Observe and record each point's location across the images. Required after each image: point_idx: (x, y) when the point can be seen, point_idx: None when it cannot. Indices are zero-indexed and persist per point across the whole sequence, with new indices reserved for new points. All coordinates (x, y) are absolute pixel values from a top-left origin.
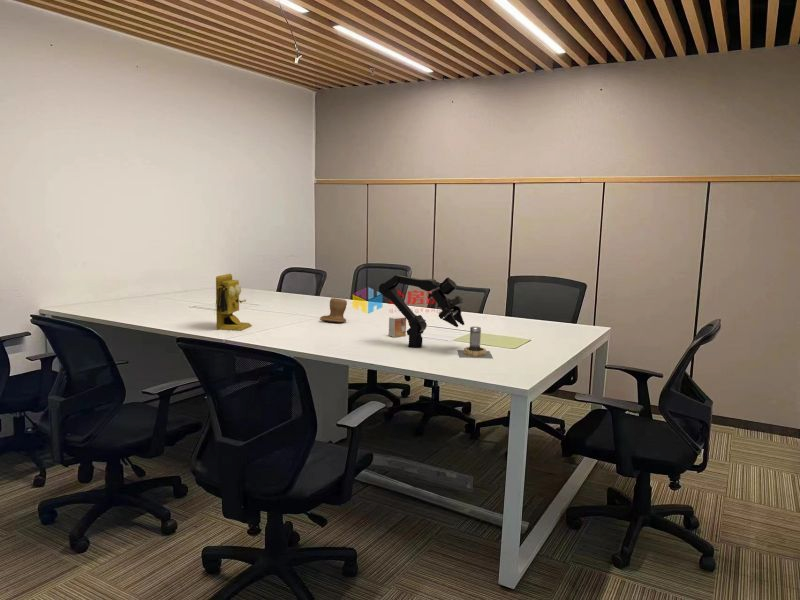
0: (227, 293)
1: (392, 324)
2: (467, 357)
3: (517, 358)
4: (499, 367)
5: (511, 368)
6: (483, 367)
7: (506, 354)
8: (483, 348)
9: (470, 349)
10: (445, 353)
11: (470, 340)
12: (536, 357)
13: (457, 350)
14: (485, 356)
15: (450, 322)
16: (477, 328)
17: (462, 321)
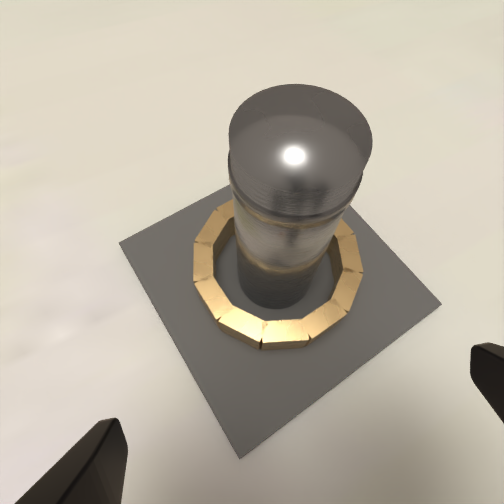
0: None
1: None
2: (396, 261)
3: (180, 91)
4: (408, 84)
5: (379, 51)
6: (474, 127)
7: (121, 155)
8: (216, 221)
9: (314, 275)
10: (390, 493)
11: (326, 247)
12: (104, 48)
13: (258, 441)
14: None
15: None
16: (337, 97)
17: (90, 478)
